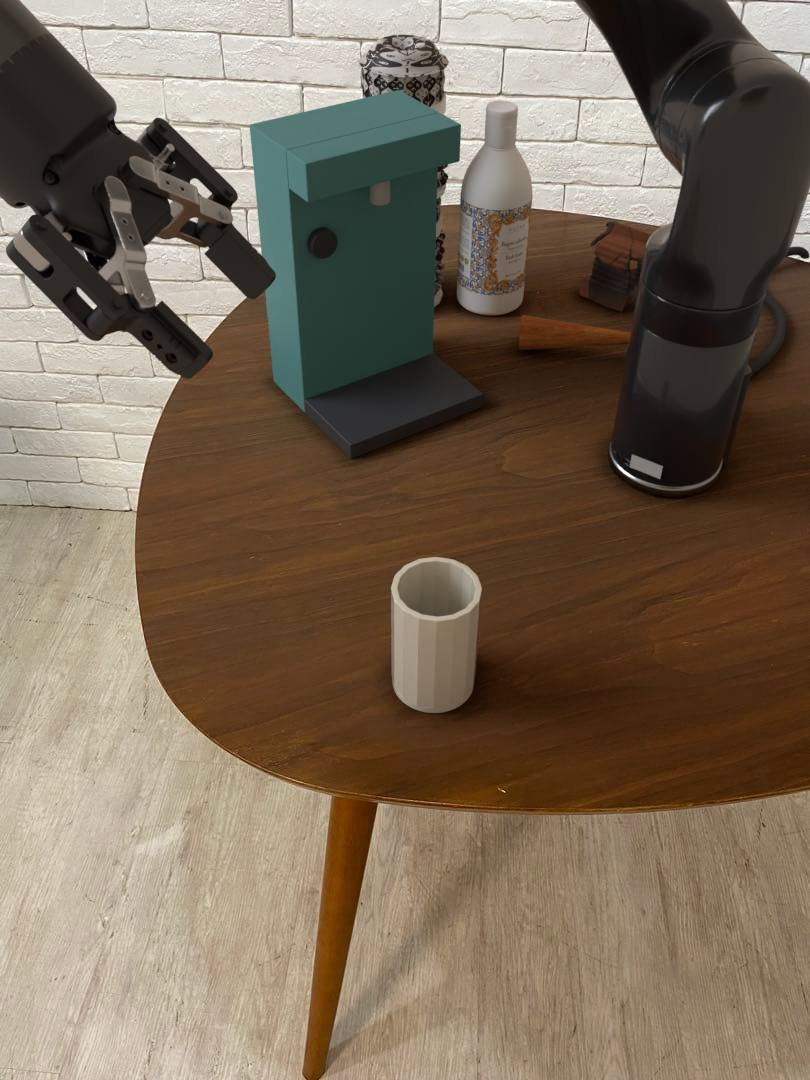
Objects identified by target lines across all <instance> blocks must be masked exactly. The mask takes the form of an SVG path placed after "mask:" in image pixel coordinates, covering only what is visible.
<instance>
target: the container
mask: <svg viewBox="0 0 810 1080" xmlns="http://www.w3.org/2000/svg"><path fill="white" fill-rule="evenodd" d="M482 595H483V587H482V584H481V581H480V578H479V576H478V574H476V573H475V572H474V571H473V570H472V569H471V568H470V567H469V566H468V565H467V564H464V563H462V562H460V561H459V560H455V559H454V558H448V557H442V556H441V557H440V556H432V557H431V556H430V557H424V558H423V557H422V558H418V559H416V560H414V561H411V562H409V563H407V564H405V565H403V566H402V567H401V568H400V569H399V570H398V571H397V572H396V574H395V575H394V577H393V580H392V583H391V586H390V635H391V636H390V640H391V642H390V645H391V646H390V647H391V650H390V651H391V653H390V654H391V658H390V659H391V661H390V662H391V666H390V667H391V683H392V688H393V690H394V692H395V695H396V696H397V697H398V699H399V700H400V701H401V703H403V704H405V705H406V706H407V707H409V708H411V709H413V710H415V711H419V712H422V713H425V714H441V713H447V712H451V711H453V710H456V709H457V708H459V707H461V706H462V705H463V704H464V703H466V702H467V701H468V700H469V699H470V697H471V695H472V693H473V691H474V688H475V681H476V675H477V674H476V673H477V661H478V660H477V659H478V650H479V649H478V648H479V635H480V621H481V610H482Z"/></svg>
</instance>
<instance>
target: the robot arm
mask: <svg viewBox="0 0 810 1080" xmlns="http://www.w3.org/2000/svg"><path fill="white" fill-rule="evenodd" d="M573 2H574V3H575V4H576V5H577V6H578V7H579V9H580V10H581V11H582V12H583V13H584V14H585V16H587V18H589V20H590V21H591V23H592V24H593V25H594V26H595V27H596V29H597V30H598V31H599V33H600V34H601V36H602V37H603V39H604V41H605V42H606V44H607V45H608V47H609V49H610V51H611V52H612V55H613V57H614V58H615V60H616V63H617V64H618V66H619V68H620V70H621V72H622V74H623V76H624V78H625V80H626V82H627V83H628V86H629V88H630V90H631V91H632V94H633V95H634V98H635V101H636V102H637V104H638V106H639V109H640V111H641V113H642V116H643V118H644V120H645V122H646V124H647V126H648V128H649V131H650V133H651V135H652V137H653V139H654V141H655V143H656V145H657V147H658V149H659V151H660V153H661V154H662V156H663V157H664V158H665V159H666V160H667V162H669V164H670V165H671V166H672V168H674V170H675V171H676V172H677V173H678V174H679V175H680V176H681V177H682V178H681V183H680V188H679V194H678V198H677V203H676V207H675V211H674V215H673V219H672V222H670V223H667V224H664V225H663V226H661V227H659V228H657V229H656V230H655V231H653V232H652V233H653V234H652V235H651V236H650V238H649V239H648V241H647V243H646V246H645V250H644V255H643V260H642V266H641V274H640V279H639V285H638V291H637V296H636V302H634V308H633V316H632V321H631V328H630V331H629V332H630V338H629V343H628V344H627V348H626V349H627V350H626V356H625V361H624V366H623V371H622V379H621V385H620V388H619V389H620V390H619V396H618V401H617V405H616V406H617V407H616V413H615V417H614V422H613V423H614V424H613V428H612V435H611V438H610V441H609V447H608V452H607V460H608V465H609V466H610V469H611V470H612V471H613V473H614V474H615V476H617V477H618V478H619V479H620V480H621V481H623V483H625V484H627V485H628V486H630V487H632V488H634V489H636V490H638V491H641V492H644V493H647V494H651V495H655V496H660V497H669V498H673V497H674V498H675V497H677V498H680V497H687V496H693V495H696V494H700V493H702V492H705V491H706V490H708V489H710V487H712V486H713V485H714V484H716V482H717V480H718V478H719V476H720V474H721V470H722V467H723V466H724V465H726V464H728V462H729V457H730V454H731V451H732V447H733V443H734V438H735V436H736V432H737V427H738V424H739V422H740V417H741V413H742V409H743V405H744V403H745V402H744V401H745V399H746V395H747V390H748V386H749V384H750V380H751V377H752V376H754V375H755V374H756V373H758V372H759V371H760V370H761V369H762V368H763V369H764V367H765V366H766V365H767V364H768V363H769V362H770V361H771V360H772V359H773V358H774V356H775V355H776V354H777V353H778V352H779V350H780V349H781V348H782V345H783V343H784V341H785V338H786V335H787V317H786V313H785V311H784V309H783V307H782V306H781V305H780V304H779V303H778V302H777V300H776V299H774V297H773V296H772V295H771V294H770V293H769V292H767V291H768V287H769V285H770V280H771V278H772V275H773V274H774V273H775V272H776V270H777V269H778V268H779V267H780V265H781V264H782V262H783V261H784V260H785V258H788V257H792V256H799V257H800V258H801V259H803V260H807V259H809V258H810V253H809V250H808V249H806V248H805V247H803V246H792V244H793V241H794V239H795V236H796V233H797V229H798V226H799V223H800V221H801V220H800V219H801V216H802V214H803V210H804V207H805V205H806V202H807V198H808V195H809V192H810V81H809V80H808V79H807V78H806V77H805V76H804V75H802V74H801V73H800V72H799V71H797V69H795V68H794V67H792V66H791V65H789V64H788V63H787V62H786V61H785V60H783V59H782V58H780V57H779V56H777V55H776V53H773V52H772V51H771V50H770V49H768V48H767V47H766V46H764V45H763V44H762V43H761V42H760V41H759V40H758V39H757V38H756V37H755V36H754V35H753V34H752V33H751V32H750V31H749V29H748V28H747V27H746V25H745V24H744V23H743V22H742V20H741V19H740V18H739V16H738V15H737V14H736V12H735V10H733V8H732V7H731V5H730V4H729V2H728V0H573ZM117 110H118V107H117V102H116V100H115V99H114V97H113V96H112V95H111V94H110V93H109V91H108V90H106V89H105V88H104V87H103V86H102V85H101V84H100V82H98V80H97V79H95V77H93V75H92V74H91V73H90V72H89V71H88V70H87V69H86V68H85V67H84V66H83V64H81V62H79V60H77V59H76V57H75V56H74V55H73V54H72V53H71V52H70V51H69V50H68V49H67V48H66V47H65V45H63V44H62V43H61V42H60V41H59V40H58V38H56V36H55V35H53V33H52V32H51V31H49V29H48V28H47V27H46V26H45V25H44V24H43V23H42V22H41V21H40V19H38V17H36V16H35V14H34V13H32V12H31V11H30V9H28V7H27V6H26V5H25V4H24V3H23V2H22V1H21V0H0V198H1V200H3V201H4V202H5V203H6V204H7V205H8V206H10V207H11V208H14V209H24V208H27V207H29V208H30V209H31V210H32V211H33V212H34V214H32V215H30V217H29V218H28V219H27V220H26V221H25V223H24V224H23V226H22V227H21V228H20V229H19V231H17V232H16V234H15V236H13V238H12V239H11V240H10V241H9V243H8V244H7V245H6V247H5V254H6V255H7V258H8V259H9V260H10V261H11V262H12V263H13V264H14V265H15V266H16V267H17V268H18V269H19V270H20V271H21V272H22V273H23V274H24V275H25V276H26V277H27V278H28V279H29V280H30V281H31V282H32V283H33V284H34V285H35V286H36V287H37V288H38V289H39V291H41V292H42V293H43V294H44V296H45V297H46V298H47V299H48V300H49V301H50V302H51V303H52V304H53V305H54V306H55V307H56V308H57V309H58V310H59V311H60V312H61V313H62V314H63V315H64V316H65V317H66V319H68V320H69V321H70V322H71V323H72V324H73V325H74V326H75V327H76V328H77V329H78V330H79V331H80V332H81V333H82V334H83V335H84V336H85V337H86V338H87V339H89V340H91V341H92V342H93V341H94V342H100V341H101V340H103V339H104V337H105V336H107V335H110V334H113V333H116V332H121V333H127V334H130V335H131V336H133V337H134V338H135V339H136V340H137V341H138V342H139V343H140V344H141V345H142V346H143V347H144V348H145V349H146V350H147V351H148V352H149V353H151V355H152V356H154V357H155V358H156V359H157V361H159V362H160V363H161V364H162V365H163V366H164V367H165V368H166V369H167V370H168V371H170V372H172V373H173V374H175V375H177V376H180V377H182V378H183V379H188V380H190V379H192V378H193V377H194V376H195V375H197V374H198V373H199V372H200V371H202V370H203V369H204V368H205V367H206V366H207V365H208V364H209V362H210V361H211V360H212V359H213V357H214V352H213V349H212V348H211V347H210V346H209V345H208V344H207V343H206V342H205V341H204V340H203V339H202V338H201V337H200V336H199V335H198V334H197V333H196V332H195V331H194V330H193V329H192V328H191V327H190V326H189V325H188V324H187V323H186V322H184V320H183V319H182V318H181V317H179V316H178V314H177V313H176V312H175V311H174V310H173V309H172V308H170V307H169V306H168V305H167V303H166V302H164V301H163V300H160V302H158V303H157V299H156V296H155V293H154V290H153V287H152V285H151V282H150V280H149V276H148V274H147V272H146V264H147V260H148V257H147V252H146V248H145V247H146V246H148V245H149V244H150V243H151V242H152V241H153V240H154V239H155V238H158V239H161V240H165V241H166V240H167V241H168V240H171V239H179V240H181V241H184V242H187V243H189V244H192V245H194V246H197V247H200V248H204V249H206V248H208V249H207V250H206V251H205V252H204V256H205V257H207V259H209V260H210V262H211V263H212V264H214V266H215V267H216V268H217V269H218V270H219V271H220V272H221V273H222V274H223V275H224V276H225V277H226V278H227V279H228V280H229V281H230V282H231V283H232V284H233V285H234V286H235V287H236V288H237V289H238V290H239V291H240V292H241V293H242V294H243V295H244V296H245V297H246V298H248V299H250V300H256V299H257V298H259V297H260V295H261V294H262V295H263V293H264V292H265V290H266V289H267V288H268V287H269V286H270V285H271V284H272V283H273V282H274V280H275V279H276V274H275V271H274V270H273V269H272V268H271V267H270V266H269V264H268V262H267V261H266V259H265V258H264V257H263V256H262V253H260V252H259V251H258V250H257V248H255V246H254V247H253V244H252V243H250V241H249V240H247V238H245V236H244V235H243V234H242V233H241V232H240V231H239V230H238V229H237V228H236V227H235V226H234V223H233V222H234V216H233V213H232V208H233V205H234V204H235V203H236V202H237V201H238V199H239V196H238V192H237V190H236V188H235V187H234V186H233V185H232V184H230V183H229V181H227V180H226V179H225V178H224V177H223V175H221V174H220V173H219V172H218V171H217V170H216V169H215V168H214V167H213V165H211V164H210V163H209V162H208V161H207V160H206V159H205V158H204V157H203V155H201V154H200V153H199V152H198V151H197V150H196V149H195V148H194V147H193V146H192V144H190V143H189V142H188V141H187V140H186V139H185V137H183V136H182V135H181V134H180V133H179V132H178V131H177V130H176V129H175V128H174V127H173V126H172V125H171V124H170V123H169V122H168V121H167V120H165V119H164V118H162V117H155V118H154V119H153V120H152V122H150V124H149V125H148V126H146V127H145V129H144V130H143V131H142V132H141V134H140V135H139V136H138V137H137V140H135V139H132V138H131V137H129V136H128V135H126V134H125V133H124V132H122V131H121V130H120V129H119V128H118V127H117V125H116V122H115V121H116V120H115V117H116V115H117V112H118V111H117ZM194 179H195V180H197V181H199V182H200V183H201V184H202V185H203V186H204V187H205V188H206V189H207V190H208V191H209V193H211V194H210V195H209V196H208V197H204V196H202V194H201V193H200V192H199V189H198V186H196V185H195V184H193V183H191V181H192V180H194ZM170 201H171V202H170ZM193 218H194V219H197V221H193V220H192V219H193ZM78 289H80V290H81V291H82V292H83V294H84V295H86V297H87V298H88V299H90V300H91V302H92V303H93V304H94V305H95V308H93V307H92V306H91V305H90V304H89V303H88V302H87V301H86V300H85V299H84V298H83V297H82V296H81V295H80V294H79V293H78ZM156 303H157V304H156ZM764 304H765V305H766V306H767V307H768V308H769V310H771V312H772V313H773V315H774V317H775V320H776V332H775V335H774V338H773V340H772V342H771V343H770V345H769V346H768V348H767V349H766V350H765V351H764V352H763V353H762V354H761V355H760V356H759V357H758V358H757V359H756V360H754V362H752V363H750V364H749V359H750V355H751V353H752V348H753V344H754V341H755V337H756V333H757V329H758V325H759V321H760V317H761V314H762V310H763V306H764Z"/></svg>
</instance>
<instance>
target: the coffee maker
mask: <svg viewBox="0 0 810 1080" xmlns="http://www.w3.org/2000/svg"><path fill="white" fill-rule="evenodd" d="M249 134H250V144H251V155H252V168H253V177H254V186H255V188H254V189H255V197H256V209H257V210H256V211H257V219H258V220H257V221H258V228H259V229H258V230H259V239H260V241H259V242H260V250H261V251H260V252H261V255H262V256H263V257H264V258H265V259H266V261H267V262H268V264H269V266H270V267H271V268H272V269H273V270H274V271H275V274H276V279H275V280H274V282H273V283H272V284H271V285H270V286H269V287H268V288H267V289H266V290H265V291H264V292H265V293H264V294H265V304H266V314H267V315H266V316H267V323H268V324H267V325H268V334H269V335H268V336H269V346H270V356H271V366H272V367H271V368H272V376H273V377H272V379H273V382H274V383H275V385H277V387H278V388H279V389H280V390H281V391H283V392H284V393H285V395H287V396H288V397H289V398H290V400H291V401H293V403H295V405H297V406H298V408H300V410H301V411H302V412H303V413H305V414H306V415H307V417H308V418H310V420H311V421H313V422H314V424H316V425H317V426H318V427H319V428H320V430H321V431H323V432H324V433H325V435H326V436H328V437H329V439H330V440H331V441H333V442H334V443H335V445H336V446H337V447H339V448H340V450H342V452H344V453H345V455H346V456H348V457H349V458H350V459H355V458H356V457H359V456H362V455H364V454H366V453H369V452H372V451H375V450H377V449H379V448H383V447H384V446H388V445H390V444H392V443H395V442H398V441H400V440H403V439H405V438H409V437H410V436H412V435H415V434H418V433H420V432H423V431H426V430H427V429H430V428H433V427H436V426H438V425H440V424H443V423H445V422H448V421H451V420H453V419H455V418H458V417H460V416H464V415H466V414H469V413H470V412H473V411H476V410H479V409H481V408H483V405H484V403H483V401H484V393H483V392H481V390H479V388H477V387H476V386H474V385H473V384H472V383H471V382H470V381H468V380H467V379H466V378H465V377H463V376H462V375H461V374H459V373H458V372H457V371H456V370H454V369H453V368H452V367H451V366H450V365H448V364H447V363H446V362H445V361H444V360H442V359H441V358H440V357H438V356H437V355H436V354H434V327H435V326H434V323H435V320H434V319H435V307H434V289H435V252H436V214H437V177H438V167H441V166H445V165H448V166H449V165H452V164H455V163H459V162H460V159H461V137H462V136H461V134H462V124H461V123H459V122H457V121H455V120H454V119H452V118H451V117H448V116H447V115H445V114H444V115H443V114H441V113H439V112H437V111H436V110H434V109H432V108H430V107H428V106H427V105H425V104H423V103H421V102H419V101H418V100H416V99H414V98H412V97H410V96H408V95H407V94H405V93H403V92H401V91H399V90H397V91H393V92H388V93H384V94H380V95H375V96H371V97H367V98H362V99H361V98H358V99H354V100H350V101H346V102H341V103H337V104H333V105H332V104H331V105H328V106H323V107H319V108H315V109H311V110H306V111H302V112H298V113H297V112H296V113H294V114H289V115H284V116H279V117H276V118H272V119H267V120H263V121H258V122H255V123H250V124H249Z"/></svg>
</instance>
